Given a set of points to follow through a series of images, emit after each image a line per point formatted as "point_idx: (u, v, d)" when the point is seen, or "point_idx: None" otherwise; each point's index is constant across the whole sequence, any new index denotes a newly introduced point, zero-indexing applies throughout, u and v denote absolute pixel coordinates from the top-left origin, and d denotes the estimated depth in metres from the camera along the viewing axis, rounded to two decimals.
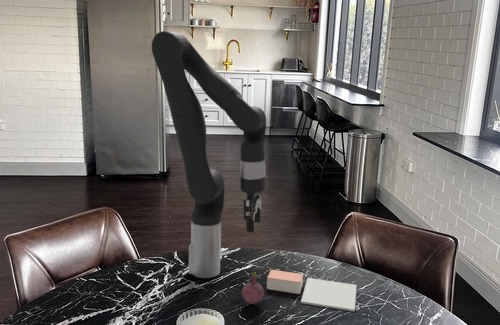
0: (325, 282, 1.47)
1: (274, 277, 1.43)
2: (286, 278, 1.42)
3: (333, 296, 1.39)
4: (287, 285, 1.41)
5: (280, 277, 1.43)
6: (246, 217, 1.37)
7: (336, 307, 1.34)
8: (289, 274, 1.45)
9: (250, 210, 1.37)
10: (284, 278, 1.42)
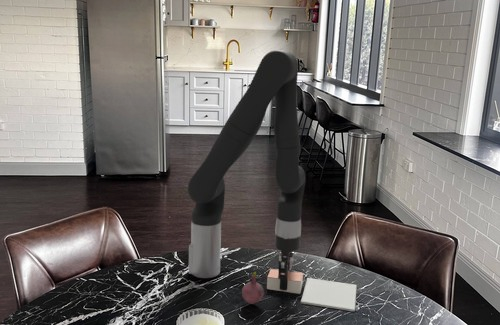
0: (325, 282, 1.47)
1: (274, 276, 1.43)
2: None
3: (333, 296, 1.39)
4: (288, 284, 1.41)
5: None
6: (281, 277, 1.38)
7: (336, 307, 1.34)
8: (289, 273, 1.45)
9: (285, 272, 1.37)
10: None
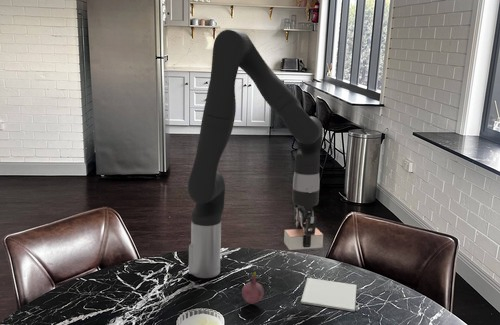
0: (325, 282, 1.47)
1: (296, 235, 1.37)
2: None
3: (333, 296, 1.39)
4: None
5: (301, 234, 1.38)
6: (309, 232, 1.34)
7: (336, 307, 1.34)
8: None
9: (314, 226, 1.33)
10: None
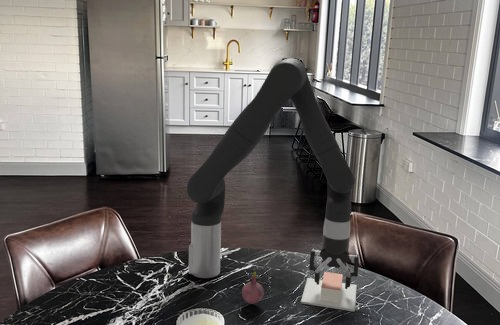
0: None
1: (338, 286, 1.37)
2: (338, 280, 1.40)
3: None
4: None
5: (336, 283, 1.39)
6: None
7: (336, 307, 1.34)
8: (328, 278, 1.41)
9: None
10: (337, 281, 1.40)
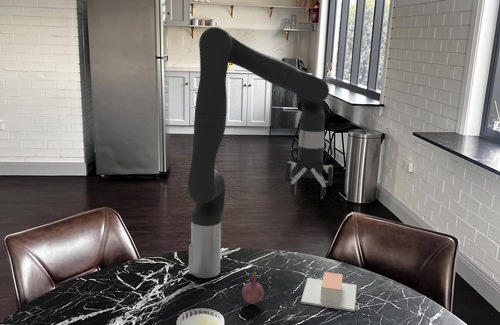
0: None
1: (338, 286, 1.37)
2: (338, 280, 1.40)
3: None
4: None
5: (336, 283, 1.39)
6: (331, 182, 1.44)
7: (336, 307, 1.34)
8: (328, 278, 1.41)
9: (332, 174, 1.45)
10: (337, 281, 1.40)
